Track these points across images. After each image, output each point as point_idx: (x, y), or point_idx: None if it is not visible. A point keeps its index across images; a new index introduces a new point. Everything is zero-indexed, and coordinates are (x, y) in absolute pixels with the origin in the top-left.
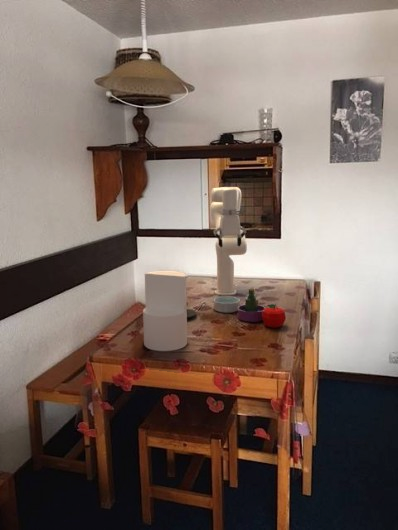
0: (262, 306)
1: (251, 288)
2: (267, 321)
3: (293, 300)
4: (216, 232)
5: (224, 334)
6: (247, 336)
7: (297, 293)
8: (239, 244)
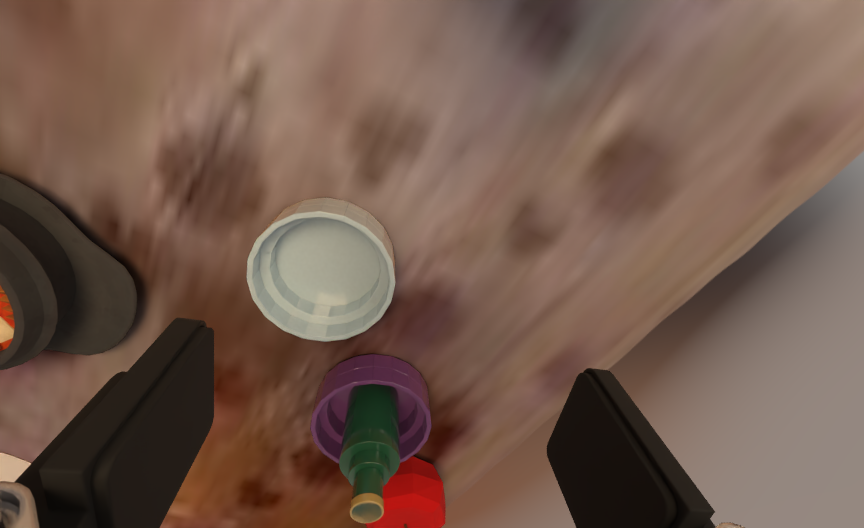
0: (426, 424)
1: (361, 516)
2: None
3: (698, 255)
4: None
5: (211, 488)
6: (277, 516)
7: (832, 149)
8: (563, 479)
